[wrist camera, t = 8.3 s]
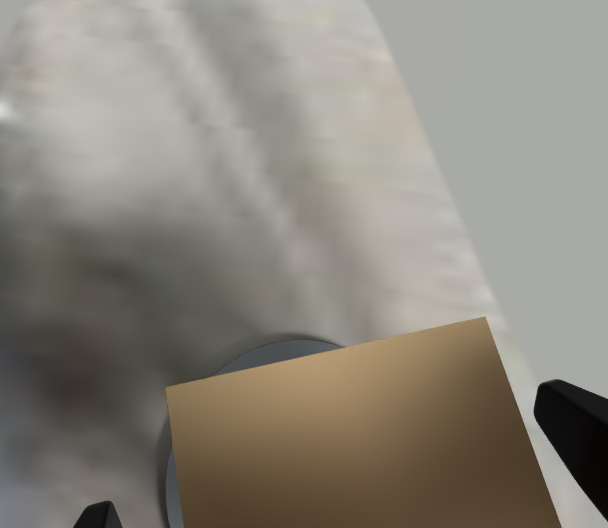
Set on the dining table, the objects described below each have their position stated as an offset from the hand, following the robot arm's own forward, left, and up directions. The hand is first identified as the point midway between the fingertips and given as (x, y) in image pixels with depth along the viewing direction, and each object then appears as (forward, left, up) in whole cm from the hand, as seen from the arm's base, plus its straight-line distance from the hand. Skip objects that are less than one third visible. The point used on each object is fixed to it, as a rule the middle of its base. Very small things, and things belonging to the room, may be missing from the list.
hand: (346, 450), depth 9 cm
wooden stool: (-1, +1, -9) cm, 9 cm away
